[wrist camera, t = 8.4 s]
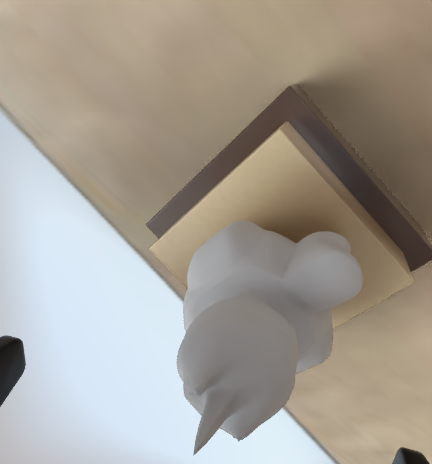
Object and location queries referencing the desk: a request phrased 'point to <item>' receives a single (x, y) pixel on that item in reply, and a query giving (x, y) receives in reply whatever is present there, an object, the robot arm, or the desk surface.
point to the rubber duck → (258, 321)
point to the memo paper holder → (296, 200)
